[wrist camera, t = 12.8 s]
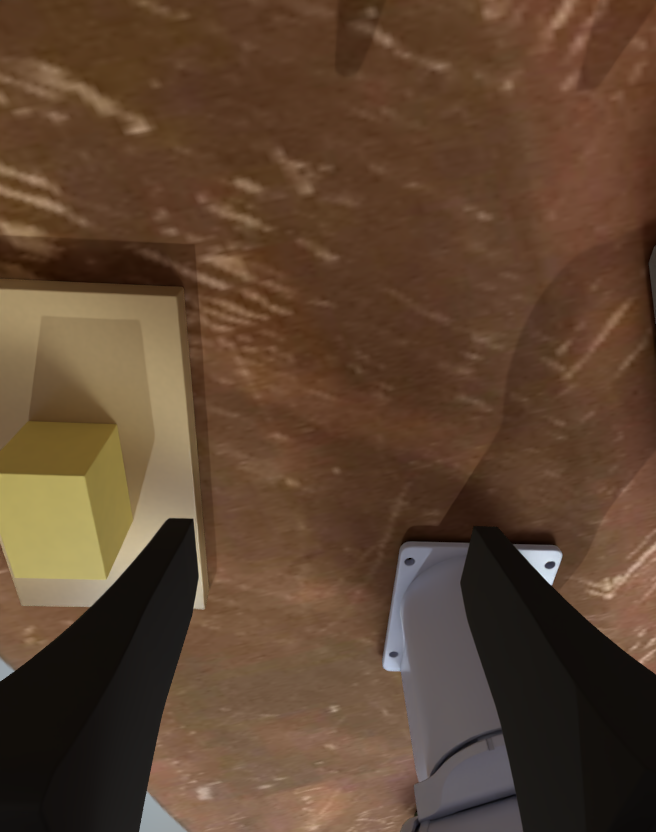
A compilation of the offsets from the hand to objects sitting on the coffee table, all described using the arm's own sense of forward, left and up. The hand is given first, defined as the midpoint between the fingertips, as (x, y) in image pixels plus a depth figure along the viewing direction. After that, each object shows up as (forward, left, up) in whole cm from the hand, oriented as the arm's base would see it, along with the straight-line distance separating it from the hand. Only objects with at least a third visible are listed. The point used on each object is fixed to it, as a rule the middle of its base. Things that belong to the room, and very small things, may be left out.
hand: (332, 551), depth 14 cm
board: (-4, +10, -9) cm, 14 cm away
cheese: (-4, +10, -8) cm, 13 cm away
